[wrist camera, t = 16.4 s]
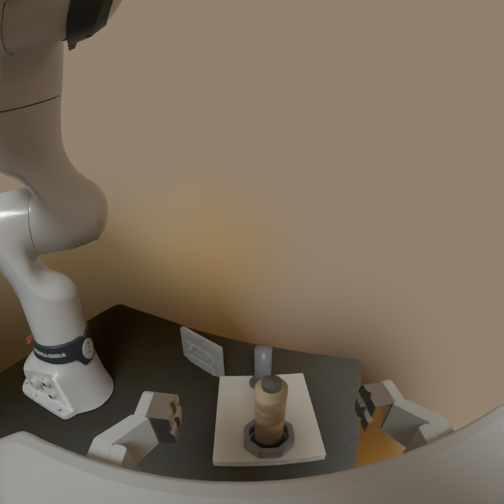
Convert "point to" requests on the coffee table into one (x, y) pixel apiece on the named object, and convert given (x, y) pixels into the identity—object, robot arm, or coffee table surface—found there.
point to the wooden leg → (270, 411)
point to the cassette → (203, 352)
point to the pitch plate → (245, 413)
